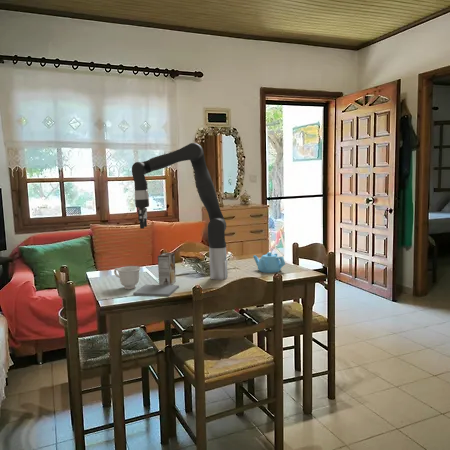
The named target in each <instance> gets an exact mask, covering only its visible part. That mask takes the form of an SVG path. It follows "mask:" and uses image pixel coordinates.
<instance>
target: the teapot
mask: <svg viewBox="0 0 450 450" xmlns="http://www.w3.org/2000/svg"><path fill="white" fill-rule="evenodd" d="M253 260H254V261H255V263H256V266H257V270H258V271H259V272H261V273H265V274H266V273H268V274H272V273H273V274H274V273H278V272H280V271H281V270H282V268H283V267H285V265H286V262H285V258H284V256H278V253H274V254H273V253H272V252H271V251H270V252H266V254H262V255H261V256H260V259H259V257H258V256H257V255H253Z"/></svg>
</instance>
